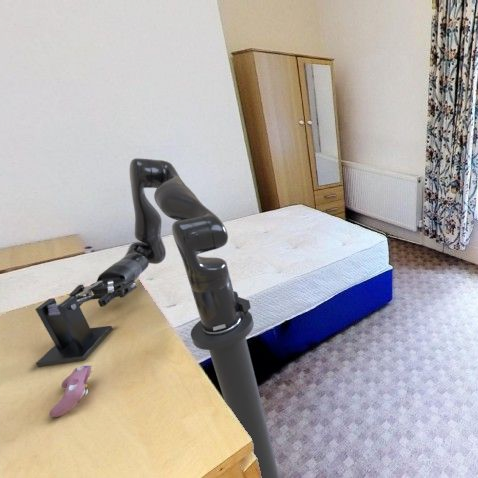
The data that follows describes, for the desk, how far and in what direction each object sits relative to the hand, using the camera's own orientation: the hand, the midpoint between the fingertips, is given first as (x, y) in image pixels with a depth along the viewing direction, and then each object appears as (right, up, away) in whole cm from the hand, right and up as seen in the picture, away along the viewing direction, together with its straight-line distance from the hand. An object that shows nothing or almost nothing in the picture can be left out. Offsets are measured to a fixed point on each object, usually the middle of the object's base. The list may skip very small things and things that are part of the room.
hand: (86, 305), depth 86 cm
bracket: (+2, -10, -4) cm, 11 cm away
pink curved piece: (+16, -17, -17) cm, 29 cm away
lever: (+1, 0, -3) cm, 4 cm away
